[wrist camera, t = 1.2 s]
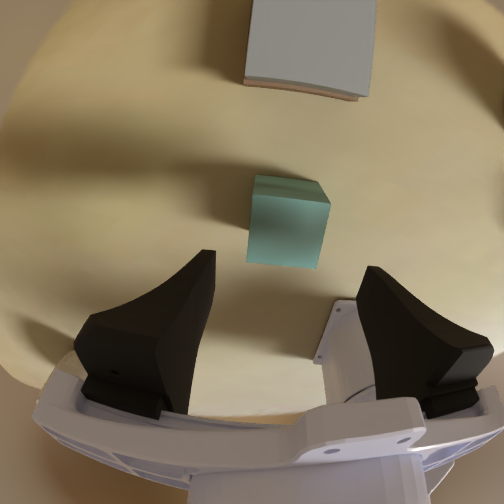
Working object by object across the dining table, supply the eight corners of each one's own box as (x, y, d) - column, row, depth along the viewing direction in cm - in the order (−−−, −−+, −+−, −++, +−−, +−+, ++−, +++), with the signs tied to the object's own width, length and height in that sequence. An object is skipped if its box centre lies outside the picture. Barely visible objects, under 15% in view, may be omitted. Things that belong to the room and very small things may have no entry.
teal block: (307, 236, 21) (316, 268, 18) (250, 230, 21) (246, 262, 18) (317, 181, 19) (330, 203, 15) (255, 174, 19) (252, 194, 15)
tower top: (354, 97, 14) (368, 96, 12) (247, 79, 14) (244, 75, 12) (362, 10, 11) (376, -2, 9) (258, -10, 11) (257, -25, 8)
